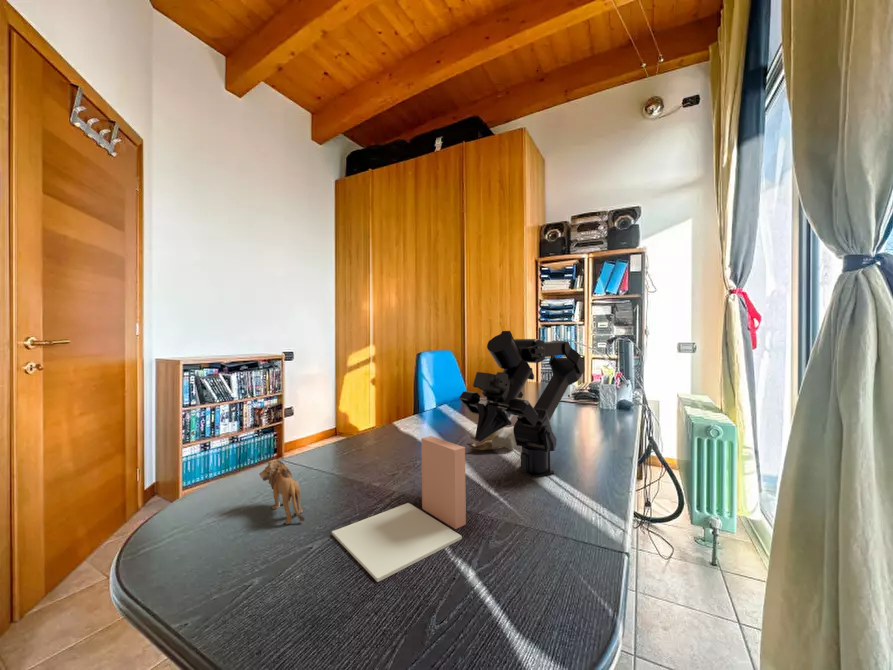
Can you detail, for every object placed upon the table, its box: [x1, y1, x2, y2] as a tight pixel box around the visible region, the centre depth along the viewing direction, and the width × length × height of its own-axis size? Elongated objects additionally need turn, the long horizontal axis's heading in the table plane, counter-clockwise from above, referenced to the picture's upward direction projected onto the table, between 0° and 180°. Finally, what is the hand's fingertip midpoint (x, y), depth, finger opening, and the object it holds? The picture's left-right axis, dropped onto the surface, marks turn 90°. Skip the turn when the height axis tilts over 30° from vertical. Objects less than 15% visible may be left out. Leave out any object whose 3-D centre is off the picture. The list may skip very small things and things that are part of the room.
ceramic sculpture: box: [468, 425, 516, 451], centre depth 108 cm, size 11×9×15 cm
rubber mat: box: [331, 502, 463, 583], centre depth 61 cm, size 16×16×1 cm
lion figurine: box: [258, 459, 306, 525], centre depth 71 cm, size 15×5×9 cm, turn 50°
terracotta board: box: [420, 435, 467, 530], centre depth 68 cm, size 2×10×14 cm, turn 40°
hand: (477, 440), depth 74 cm, fingers closed
